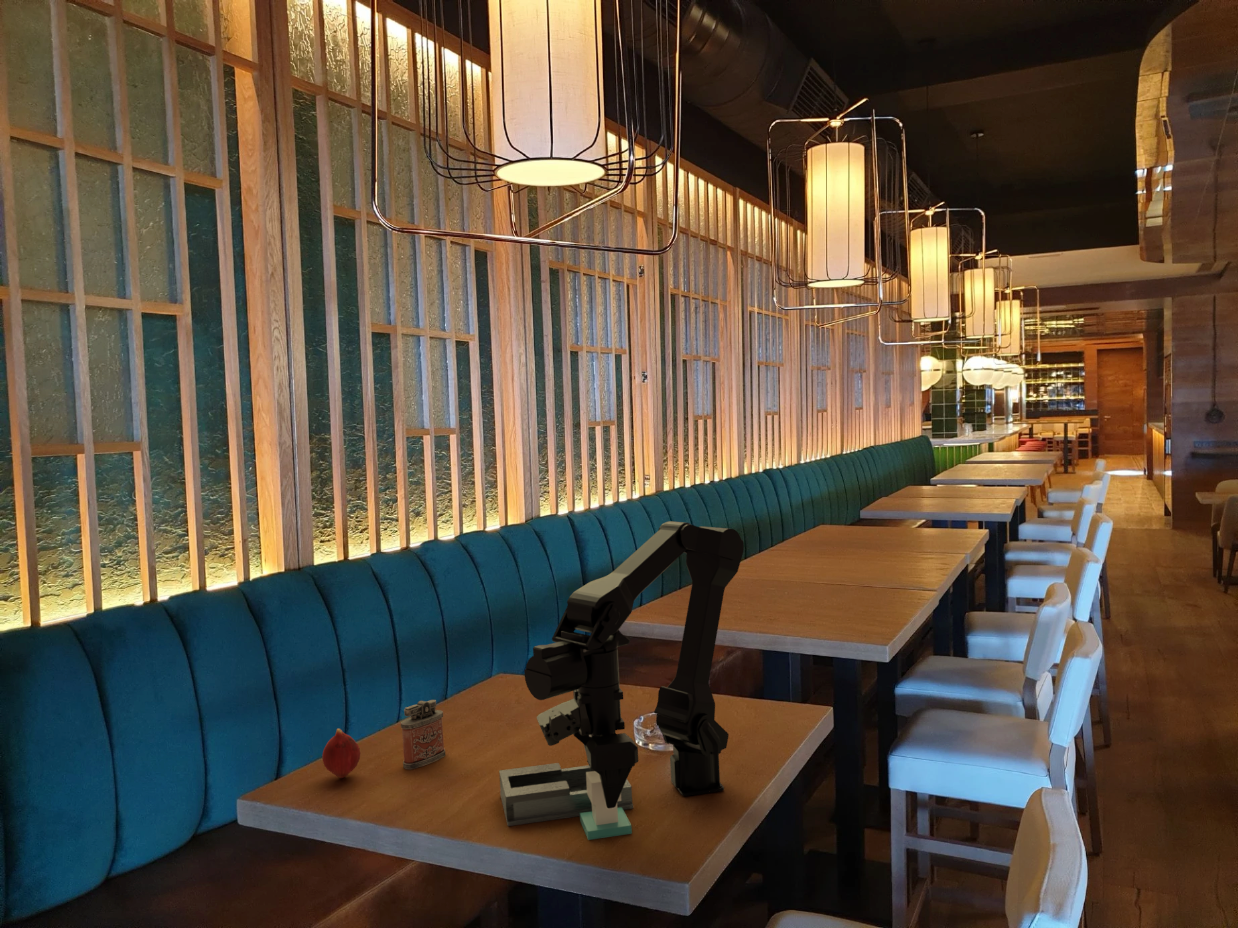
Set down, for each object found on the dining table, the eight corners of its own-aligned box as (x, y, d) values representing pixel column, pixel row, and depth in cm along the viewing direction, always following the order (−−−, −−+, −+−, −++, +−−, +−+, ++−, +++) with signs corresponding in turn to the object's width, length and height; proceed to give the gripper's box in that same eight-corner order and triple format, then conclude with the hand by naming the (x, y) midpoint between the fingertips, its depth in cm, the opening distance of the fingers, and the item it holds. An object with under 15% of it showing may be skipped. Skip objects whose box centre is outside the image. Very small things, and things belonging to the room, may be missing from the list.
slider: (622, 815, 131) (619, 764, 130) (631, 833, 125) (629, 780, 125) (580, 821, 130) (577, 770, 129) (588, 840, 124) (585, 786, 123)
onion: (368, 771, 151) (365, 724, 151) (348, 785, 146) (344, 736, 146) (338, 769, 153) (334, 721, 153) (316, 783, 148) (313, 734, 147)
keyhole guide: (616, 779, 143) (615, 754, 143) (633, 808, 133) (631, 780, 132) (500, 794, 140) (499, 769, 139) (507, 826, 129) (506, 798, 129)
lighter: (437, 751, 159) (433, 694, 159) (449, 755, 157) (446, 697, 157) (398, 766, 153) (395, 707, 153) (411, 770, 151) (407, 710, 151)
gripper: (531, 670, 133) (536, 776, 134) (549, 709, 115) (556, 831, 116) (606, 662, 136) (611, 766, 137) (636, 699, 118) (642, 819, 119)
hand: (603, 793), depth 127 cm, fingers open, 9 cm apart
